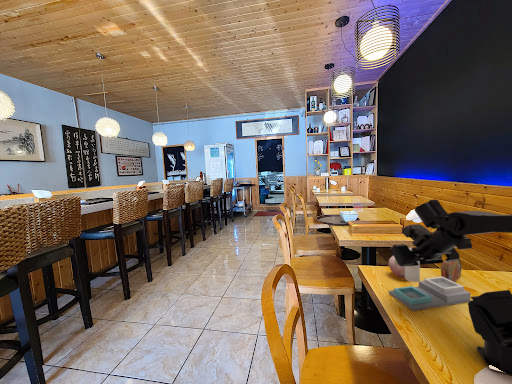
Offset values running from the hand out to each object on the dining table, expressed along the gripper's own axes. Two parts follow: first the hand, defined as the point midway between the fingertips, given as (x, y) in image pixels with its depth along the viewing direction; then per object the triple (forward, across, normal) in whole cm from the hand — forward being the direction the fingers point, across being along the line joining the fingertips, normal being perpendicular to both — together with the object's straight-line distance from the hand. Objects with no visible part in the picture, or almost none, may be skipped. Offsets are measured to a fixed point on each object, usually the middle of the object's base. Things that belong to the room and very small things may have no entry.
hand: (408, 263), depth 73 cm
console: (+8, -6, +9) cm, 13 cm away
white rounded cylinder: (+2, 0, +4) cm, 5 cm away
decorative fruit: (+18, -8, -1) cm, 20 cm away
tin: (+14, -25, +3) cm, 29 cm away
